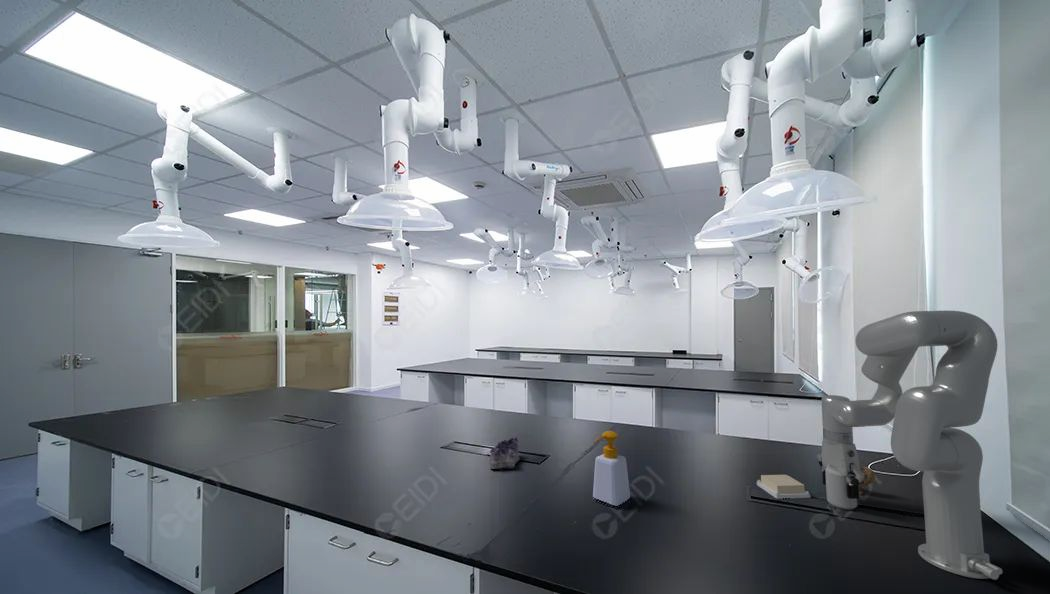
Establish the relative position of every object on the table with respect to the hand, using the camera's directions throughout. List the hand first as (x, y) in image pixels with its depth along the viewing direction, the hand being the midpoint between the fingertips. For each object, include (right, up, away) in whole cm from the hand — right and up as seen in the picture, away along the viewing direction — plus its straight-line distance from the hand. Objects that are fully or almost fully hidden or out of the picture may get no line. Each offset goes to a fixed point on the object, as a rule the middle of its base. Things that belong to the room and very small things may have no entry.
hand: (840, 491), depth 127 cm
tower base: (-12, -5, +10) cm, 16 cm away
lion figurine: (+12, -5, +10) cm, 16 cm away
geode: (-107, -9, +42) cm, 115 cm away
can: (0, -4, -1) cm, 4 cm away
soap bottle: (-72, -6, +4) cm, 72 cm away
